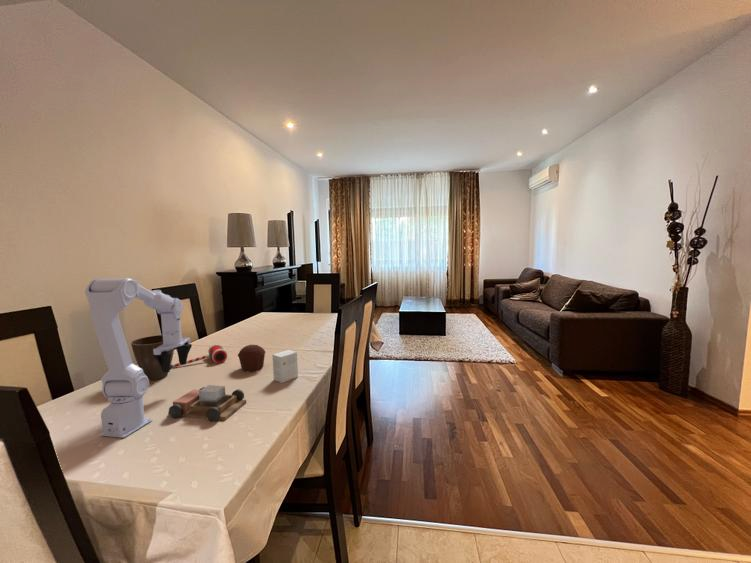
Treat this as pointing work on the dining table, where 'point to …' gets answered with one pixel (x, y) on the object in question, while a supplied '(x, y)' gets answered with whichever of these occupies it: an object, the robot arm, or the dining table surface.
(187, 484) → the dining table surface
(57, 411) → the dining table surface
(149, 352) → the plant pot
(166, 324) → the robot arm
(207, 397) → the grey block
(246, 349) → the muffin
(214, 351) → the toy hammer
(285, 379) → the small box
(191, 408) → the chassis
